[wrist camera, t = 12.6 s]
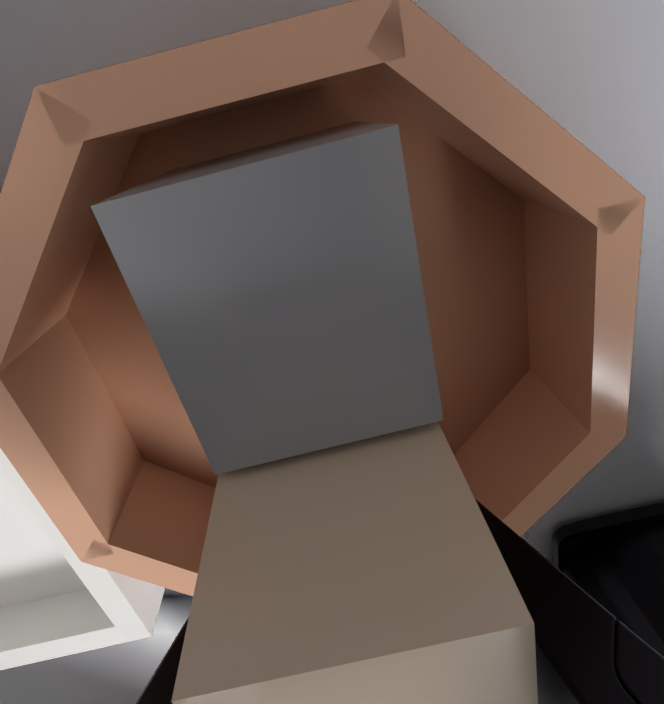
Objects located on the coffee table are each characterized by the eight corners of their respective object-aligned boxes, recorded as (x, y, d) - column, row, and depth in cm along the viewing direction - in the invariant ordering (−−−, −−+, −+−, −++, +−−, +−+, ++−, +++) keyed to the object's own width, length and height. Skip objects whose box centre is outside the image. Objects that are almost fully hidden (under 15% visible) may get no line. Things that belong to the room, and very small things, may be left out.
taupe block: (427, 399, 9) (534, 623, 5) (452, 559, 11) (542, 807, 7) (224, 447, 9) (171, 701, 5) (287, 596, 11) (285, 859, 7)
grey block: (355, 121, 10) (397, 124, 6) (393, 319, 12) (443, 420, 8) (170, 170, 10) (89, 205, 6) (240, 357, 12) (214, 475, 8)
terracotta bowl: (542, -17, 9) (667, -83, 6) (549, 459, 15) (616, 548, 12) (-51, 140, 10) (-211, 151, 7) (175, 545, 16) (145, 653, 12)
